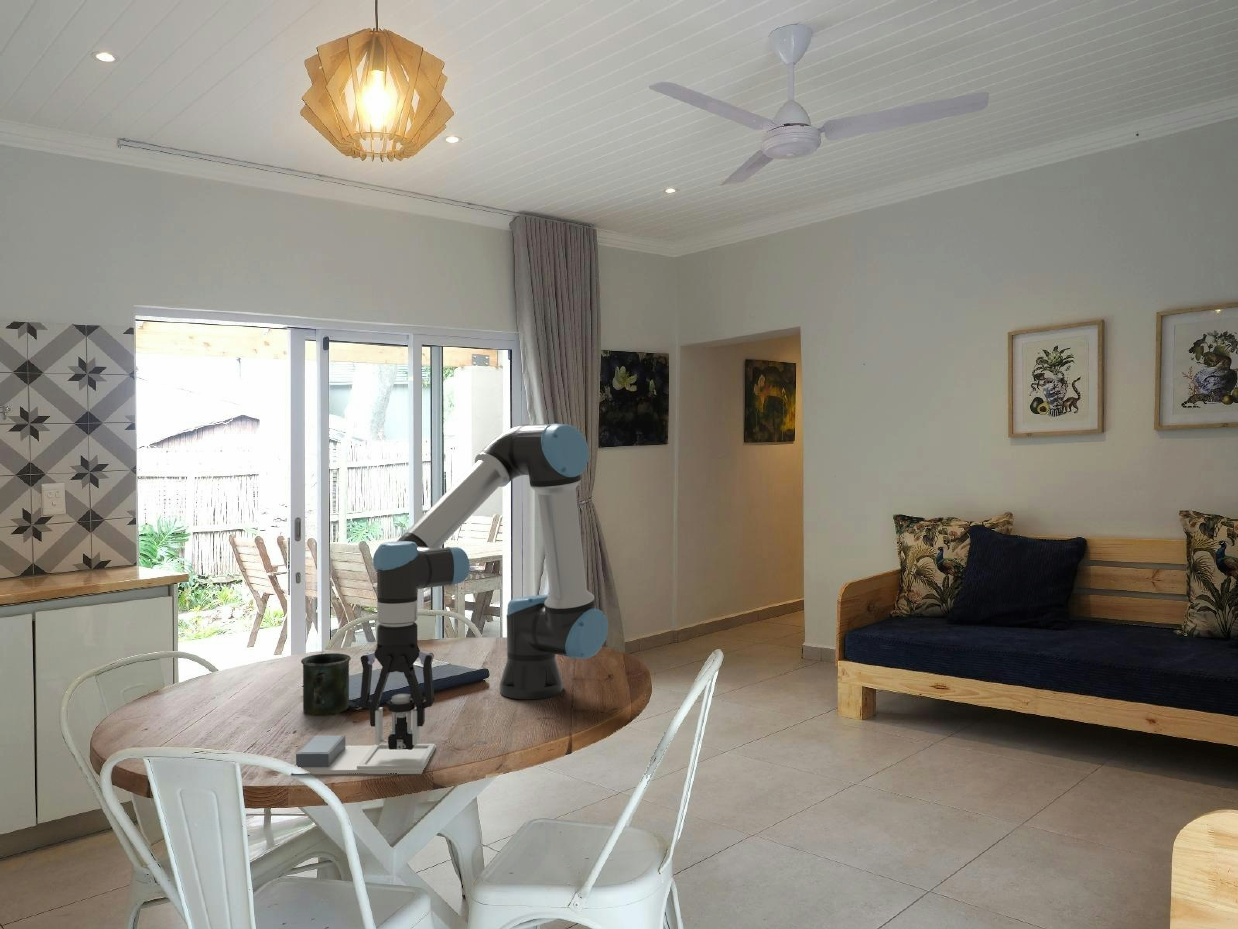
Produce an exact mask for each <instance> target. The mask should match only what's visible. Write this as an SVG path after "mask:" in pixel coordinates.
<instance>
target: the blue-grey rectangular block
mask: <svg viewBox="0 0 1238 929" xmlns="http://www.w3.org/2000/svg"><path fill="white" fill-rule="evenodd" d="M345 746H346V735H345V734H343V735H341V734H340V735H338V734H337V735H325V734H324V735H322V734H321V735H318V734H317V735H314V736H313V737H312V738H311V739H309V741H308V742H307V743H306V744H304V745H303V746H302V748H300V750H299V751H297V752H296V754H295V765H297V766H298V767H329V766H330V765H331V764H332V763H333V762H334V760H335V759H336V758H337V757H338V756H339V755H340V754H341V753H342V751H343V750H344V749H345Z"/></svg>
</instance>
